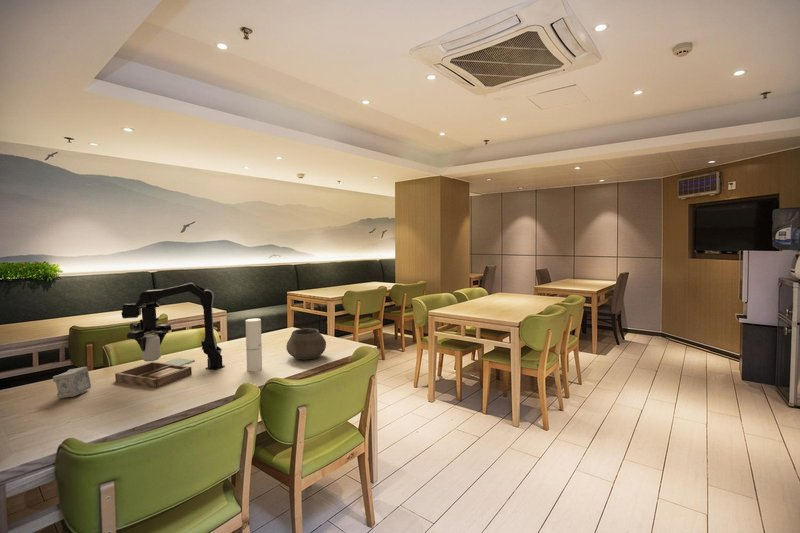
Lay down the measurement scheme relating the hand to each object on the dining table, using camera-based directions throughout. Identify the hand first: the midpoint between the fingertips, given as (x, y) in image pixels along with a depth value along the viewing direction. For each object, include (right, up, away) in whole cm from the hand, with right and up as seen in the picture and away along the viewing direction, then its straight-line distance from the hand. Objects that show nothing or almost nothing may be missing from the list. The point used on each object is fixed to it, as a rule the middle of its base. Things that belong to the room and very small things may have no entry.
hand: (151, 349), depth 184 cm
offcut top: (+11, -11, -7) cm, 17 cm away
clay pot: (+68, -11, +27) cm, 74 cm away
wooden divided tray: (+5, -13, -5) cm, 15 cm away
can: (0, -5, 0) cm, 5 cm away
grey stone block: (-18, -14, -23) cm, 33 cm away
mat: (+2, -11, +17) cm, 21 cm away
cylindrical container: (+46, -12, +8) cm, 49 cm away
